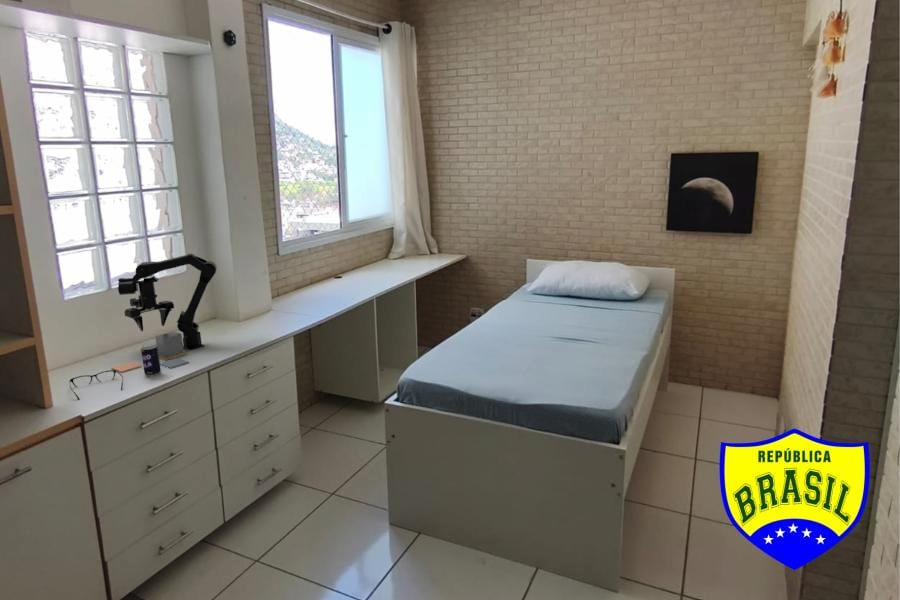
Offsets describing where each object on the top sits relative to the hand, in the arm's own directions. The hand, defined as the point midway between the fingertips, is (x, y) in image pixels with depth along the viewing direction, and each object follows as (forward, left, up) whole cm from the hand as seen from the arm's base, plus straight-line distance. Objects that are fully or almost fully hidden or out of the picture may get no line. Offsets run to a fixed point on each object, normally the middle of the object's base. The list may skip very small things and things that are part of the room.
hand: (152, 328), depth 257 cm
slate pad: (+5, +23, -10) cm, 26 cm away
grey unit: (0, +12, -10) cm, 16 cm away
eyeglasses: (+35, +24, -11) cm, 44 cm away
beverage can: (+16, +27, -10) cm, 33 cm away
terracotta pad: (+18, +11, -10) cm, 23 cm away
